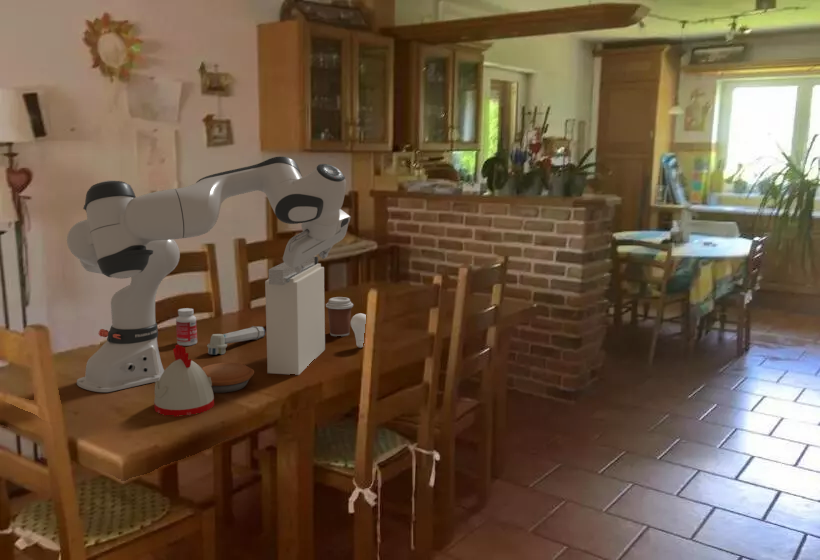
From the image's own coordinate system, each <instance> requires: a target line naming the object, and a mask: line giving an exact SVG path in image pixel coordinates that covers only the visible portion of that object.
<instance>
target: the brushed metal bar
mask: <svg viewBox="0 0 820 560" xmlns="http://www.w3.org/2000/svg"><path fill="white" fill-rule="evenodd" d="M314 257H315V256H314ZM314 257H312V258H310V259H309V260H307V261H305V262H304V263H303V264H302V266H303V267H304V269H303V271H305V270H307V269H308V268H310V267H312V266H314V265H315V258H314ZM294 269H295V268H291V267H290V266H288V265H287V264H286V263H285V262H284V261H283V262H281V263H280V264H278V265H275V266H273V267H271V268H269V269H268V278H269V284H274V285H284V284H286V283H288V282H290V278H292V277H294V276H295V275H297V274H298V273H297V272H295V270H294ZM303 271H302V272H303Z"/></svg>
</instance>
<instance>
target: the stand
mask: <svg viewBox="0 0 820 560" xmlns="http://www.w3.org/2000/svg"><path fill="white" fill-rule="evenodd" d="M314 258H315V265H314V266H312V267H310V268H308V269H307V270H305V271H303V272H301V273H299V274H297V275H295V276H294V277H292V278H290V282H288V283H286V284H284V285H274V284H269V280H268V279H267V280H264V281H265V282H264V285H265V287H264V288H265V322H266V323H265V324H266V326H265V327H266V328H265V333H266V360H267V362H266V364H267V374H277V375H290V374H295V375H294V376H300V375H301V374H302V372H303V371H305V369H307V368H308V367H309V366H310V365H311V364H312V363H313V362H314V361H315V360H316V359H317V358H318V357H319V356H320V355H321V354H322V353H323V352H324V351H325V350H326V333H325V332H326V329H325V328H326V324H325V323H326V320H325V319H326V317H325V310H326V309H325V267H324V266H322V263H319V257H318V256H314ZM314 359H315V360H314ZM313 360H314V361H313ZM312 361H313V362H312ZM311 362H312V363H311ZM310 363H311V364H310ZM309 364H310V365H309ZM307 366H308V367H307Z"/></svg>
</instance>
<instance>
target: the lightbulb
mask: <svg viewBox="0 0 820 560" xmlns="http://www.w3.org/2000/svg"><path fill="white" fill-rule="evenodd" d="M366 315H367V314H365V313H361V312H360V313H359V312H358V313H356V314H355V315H353V316H352V317H351V318H350V327H351V329H352V331H353V334H354V337H355V338H354V339H355V343H356V344H355V345H356V346H357V347H358V348H360V349H361V348H363V347H364V346H363V343H364V333H365V324H366Z"/></svg>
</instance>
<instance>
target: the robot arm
mask: <svg viewBox="0 0 820 560" xmlns="http://www.w3.org/2000/svg"><path fill="white" fill-rule="evenodd" d="M346 187H347V180H346V176H345V175H344V173H343V172H342V171H341V170H340V169H339V168H338V167H336V166H334V165H331V164H329V163H320V164H317V165H316V166H315V168H314V169H313V170H312V171H311V172H310V173H308V174H305V175H304V176H303V175H302V173H301V171H300V168H299V165H298V164H297V163H296V161H295V160H294V159H292V158H290V157H286V156H274V157H271V158H269V159H266V160H264V161H262V162H259V163H256V164H253V165H249V166H244V167H239V168H235V169H231V170H225V171H221V172H217V173H212V174H210V175H206V176H204V177H202V178H199V179H198V180H197V181H196V182H195V183H194V184H191V185H188V186H184V187H178V188H170V189H163V190H158V191H154V192H149V193H146V194H143V195H139V196H136V194H135V191H134V189H133V187H132V186H131V185H130V184H129V183H127V182H125V181H121V180H103V181H100V182H98V183H95V184H92V185H91V186H90V187H89V188H88V190H87V191H86V194H85V201H84V204H83V210H84V211H85V213H86V219H85V220H81V221H78V222H76V223H75V224H73V226H72V227H71V228H70V230H69V231H68V233H67V238H66V244H67V247H68V249H69V251H70V253H71V254H72V255H73V256H75V257H76V258H77V259H78V260H79V262H80V264H81V266H82V267H83V268H84V270H86V271H87V272H90V273H94V274H100V275H104V276H106V277H108V278H114V279H120V280H121V279H129V278H130V284H128V285H126V286H125V287H123V288H120V289H118V290H117V291H116V292H115V293H114V294H113V295H112V297H111V299H110V313H111V326H110V328H109V330H108V329H104V328H101V329H99V331H98V336H100V337H103V338H106V341H105V342H104V343H103V344H102V346H100V348H99V349H98V350H97V351H96V352H95V353H93V354H92V355H91V356H90V357H89V358H88V360H87V362H86V366H85V376H82V377H79V378H78V379H76V385H77V386H78V387H79V388H81V389H84V390H87V391H91V392H96V393H111V392H115V391H119V390H120V391H121V390H124V389H129V388H133V387H138V386H141V385H142V386H143V385H145V384H151V383H155V382H156V381H159V380H160V377H161V376H162V374H163V372H164V371H165V369H164V366H163V364H162V360H161V356H160V351H159V344H158V338H159V337H158V336H159V331H158V330H159V329H158V323H157V322H156V297H157V292H158V289H159V286H160V285H161V283H162V282H163V280H164V279H165V278H166V277H167V276H168V275H169V274H170V273H172V272H173V271H175V269H176V267H177V266H178V265H179V262H180V258H181V252H180V248H179V245H178V243H177V242H176V240H179V239H188V238H195V237H200V236H202V235H205V234H207V233H208V232H210V231H211V230H212V229H213V228H214V226H216V223H217V222H218V219H219V216H220V210H221V206H222V203H223V202H224V201H225V200H227V199H228V198H231V197H234V196H238V195H242V194H248V193H251V192H252V193H253V192H257V191H259V192H262V193H264V194H265V196H266V198H267V199H268V202H269V205H270V206H271V208H272V210H273V213H274V215H275V217H276V218H277V219H278V220H279V221H280V222H282V223H285V224H289V225H295V224H296V225H297V224H301V229H302V231H301V232H299V233H298V234H295V235H294V236H292V237H291V238H290V239H289V240H288V241H287V244H286V246H285V249H284V253H283V256H282V261H283V263H284V262H285V263H286V264H287V265H288V266H290V267H291V268H295V269H294V270H295V272H297V273H298V274H299V273H301V272H302V271H303V269H304V267H303V266H302V264H303V263H304V262H305V261H307V260H309V259H310V258H312V257H317V255H319V257H320V258H322V259H326V258H328V257H329V253H330V252H331V250H332V248H333V246H334V245H335V244H337V243H339V242H341V241H342V240H344V238H345V236H346V234H347V232H348V227H349V223H350V222H351V218H352V216H351V215H349V214H348V213H347V212H345V211H344V210H342V207H343V204H344V200H345V195H346V189H347V188H346Z"/></svg>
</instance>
